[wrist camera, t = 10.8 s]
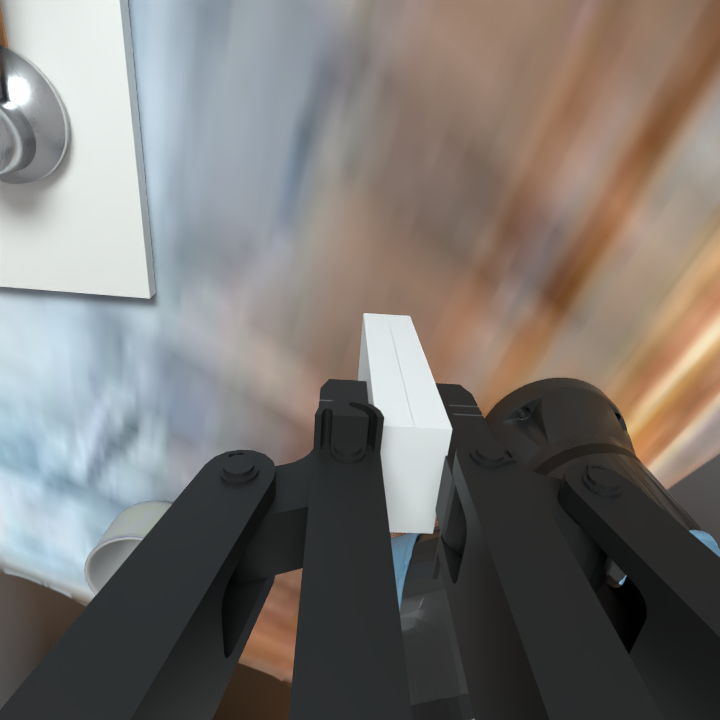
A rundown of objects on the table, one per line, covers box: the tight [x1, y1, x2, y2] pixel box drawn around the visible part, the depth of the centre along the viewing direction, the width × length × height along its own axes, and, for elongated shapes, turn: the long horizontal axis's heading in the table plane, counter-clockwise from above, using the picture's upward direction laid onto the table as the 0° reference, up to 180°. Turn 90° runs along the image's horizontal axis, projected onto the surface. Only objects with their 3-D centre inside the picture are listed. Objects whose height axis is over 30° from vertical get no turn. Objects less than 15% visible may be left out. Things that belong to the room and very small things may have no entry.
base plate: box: [0, 0, 156, 299], centre depth 35 cm, size 25×18×2 cm
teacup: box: [84, 501, 172, 595], centre depth 51 cm, size 14×11×8 cm
